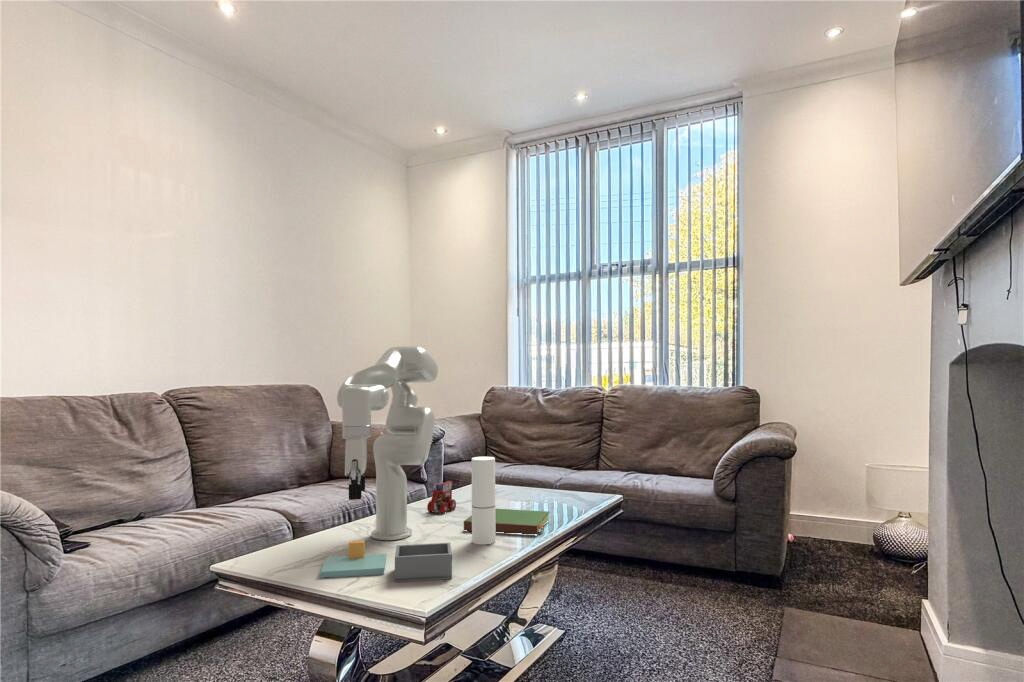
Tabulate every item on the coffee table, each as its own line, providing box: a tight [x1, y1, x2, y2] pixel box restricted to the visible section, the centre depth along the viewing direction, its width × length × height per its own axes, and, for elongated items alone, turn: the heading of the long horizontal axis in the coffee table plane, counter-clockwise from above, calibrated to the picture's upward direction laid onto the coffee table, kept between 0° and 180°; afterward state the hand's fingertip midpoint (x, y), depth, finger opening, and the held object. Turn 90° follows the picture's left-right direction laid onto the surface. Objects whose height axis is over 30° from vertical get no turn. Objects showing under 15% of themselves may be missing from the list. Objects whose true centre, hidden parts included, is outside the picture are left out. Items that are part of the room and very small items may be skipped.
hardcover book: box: [463, 508, 550, 535], centre depth 194 cm, size 25×19×4 cm
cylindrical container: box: [471, 456, 497, 545], centre depth 178 cm, size 7×7×25 cm
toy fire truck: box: [426, 480, 457, 514], centre depth 216 cm, size 7×12×10 cm, turn 153°
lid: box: [319, 540, 387, 578], centre depth 154 cm, size 12×16×6 cm
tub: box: [394, 542, 453, 583], centre depth 150 cm, size 10×14×6 cm
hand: (357, 494), depth 159 cm, fingers open, 9 cm apart
